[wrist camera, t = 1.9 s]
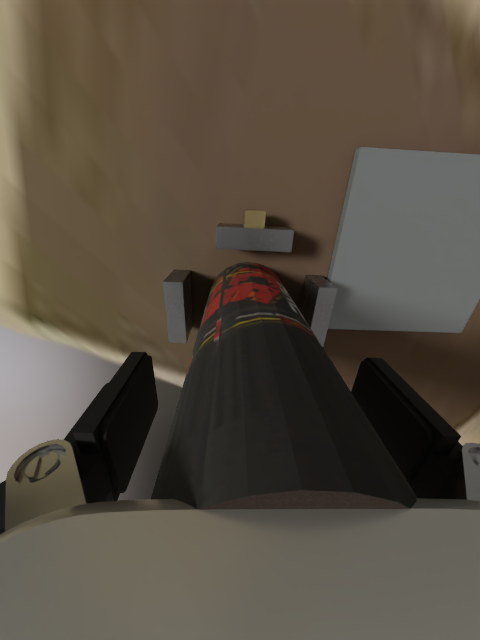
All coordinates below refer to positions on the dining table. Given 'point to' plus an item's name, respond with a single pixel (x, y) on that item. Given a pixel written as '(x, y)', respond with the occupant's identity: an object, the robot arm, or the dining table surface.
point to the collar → (255, 238)
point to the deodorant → (270, 413)
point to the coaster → (408, 242)
